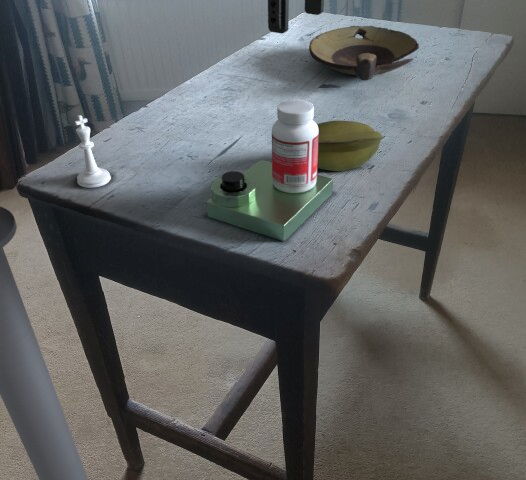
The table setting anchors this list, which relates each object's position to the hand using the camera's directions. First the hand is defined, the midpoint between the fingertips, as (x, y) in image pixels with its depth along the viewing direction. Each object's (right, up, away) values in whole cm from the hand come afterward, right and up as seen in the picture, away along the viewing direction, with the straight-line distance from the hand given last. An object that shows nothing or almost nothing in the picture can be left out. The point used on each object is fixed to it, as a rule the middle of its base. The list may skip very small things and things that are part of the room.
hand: (296, 22), depth 68 cm
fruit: (+7, -11, +23) cm, 27 cm away
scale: (-3, -19, +14) cm, 24 cm away
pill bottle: (0, -16, +14) cm, 21 cm away
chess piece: (-29, -14, +20) cm, 39 cm away
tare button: (-8, -17, +10) cm, 22 cm away
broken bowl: (+16, +15, +54) cm, 59 cm away
